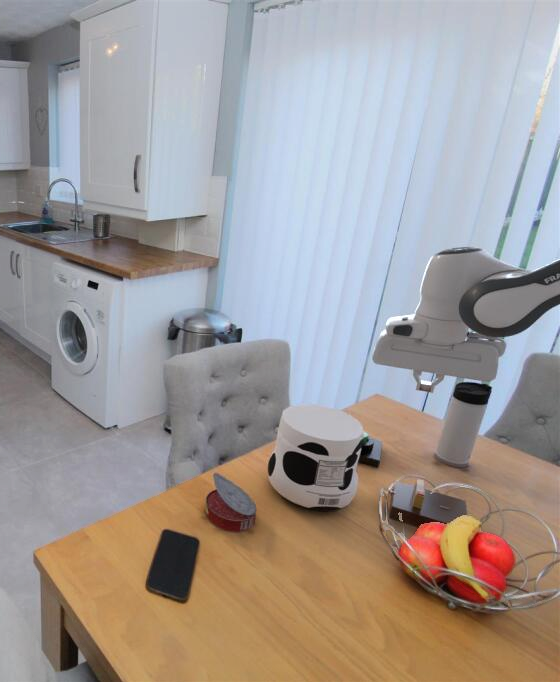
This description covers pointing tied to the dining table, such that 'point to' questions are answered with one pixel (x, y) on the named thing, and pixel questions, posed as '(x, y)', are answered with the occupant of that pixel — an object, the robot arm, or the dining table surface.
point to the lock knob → (418, 493)
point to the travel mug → (462, 423)
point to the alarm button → (365, 437)
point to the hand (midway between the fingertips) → (424, 390)
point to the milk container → (316, 457)
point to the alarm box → (371, 452)
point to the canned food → (229, 506)
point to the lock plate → (424, 506)
